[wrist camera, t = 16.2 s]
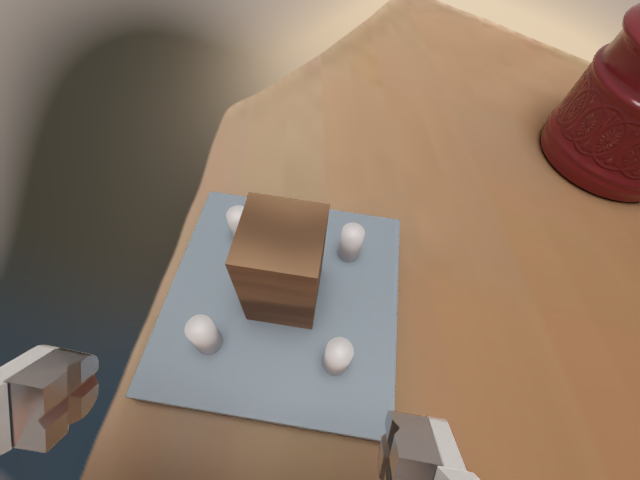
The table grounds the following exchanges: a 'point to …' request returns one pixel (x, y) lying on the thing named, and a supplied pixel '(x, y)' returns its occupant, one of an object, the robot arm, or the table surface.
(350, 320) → the peg seat
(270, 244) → the walnut block
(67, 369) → the robot arm
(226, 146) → the table surface
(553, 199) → the table surface
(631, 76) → the canister
